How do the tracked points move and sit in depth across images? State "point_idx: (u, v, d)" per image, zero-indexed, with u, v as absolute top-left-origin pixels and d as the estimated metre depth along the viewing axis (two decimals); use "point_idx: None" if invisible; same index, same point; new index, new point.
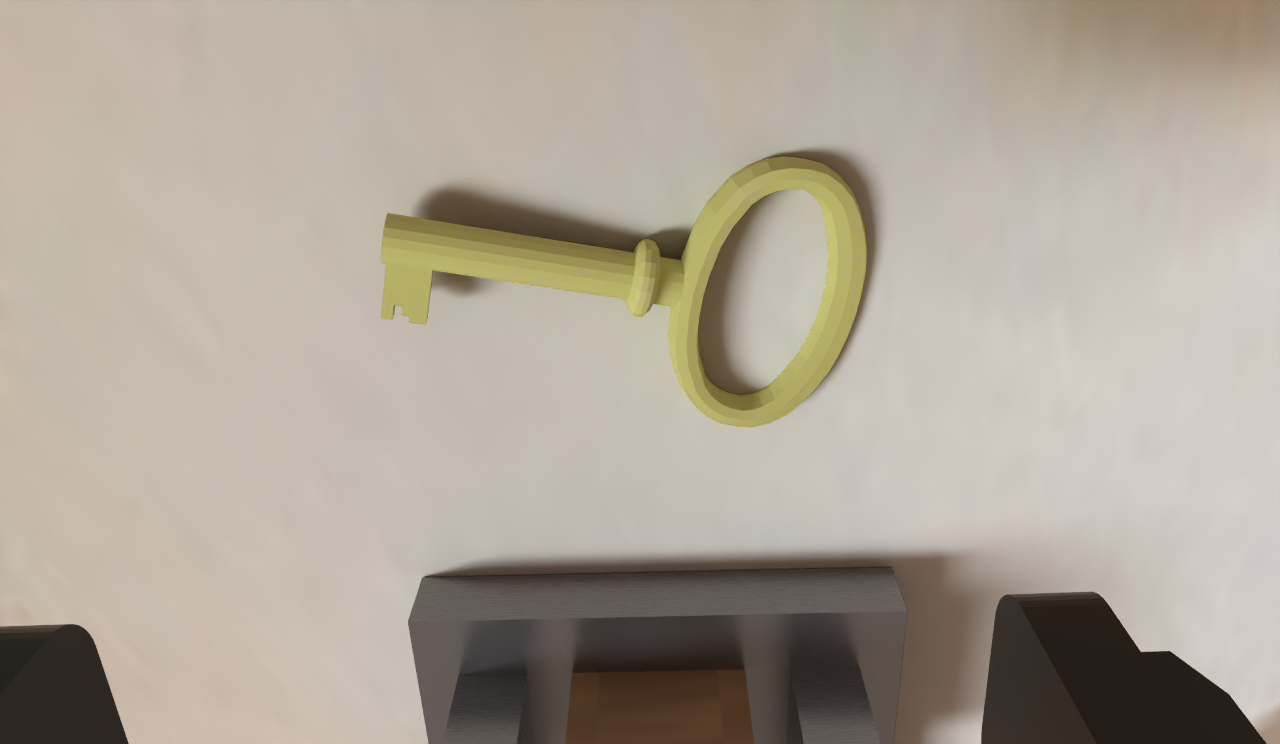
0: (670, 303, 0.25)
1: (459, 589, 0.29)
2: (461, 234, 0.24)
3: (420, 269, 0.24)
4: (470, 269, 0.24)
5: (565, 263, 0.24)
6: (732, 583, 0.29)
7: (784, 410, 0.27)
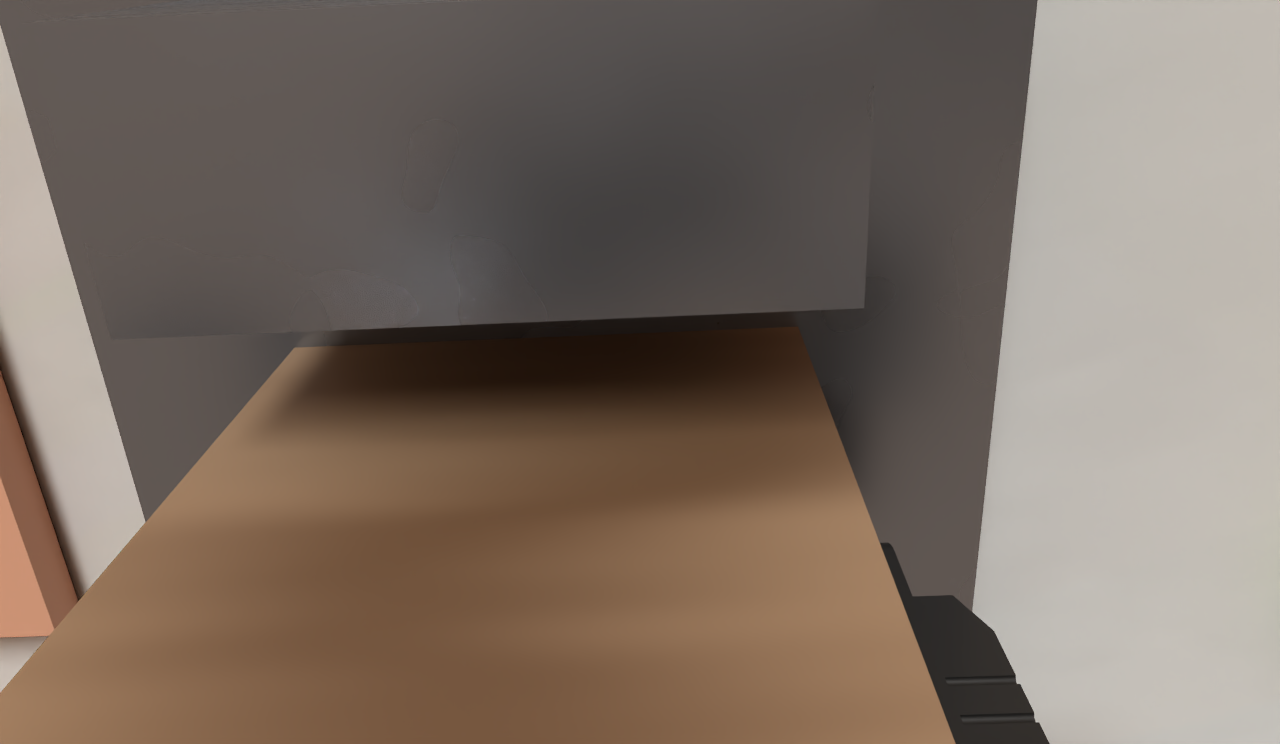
0: None
1: None
2: None
3: None
4: None
5: None
6: None
7: None
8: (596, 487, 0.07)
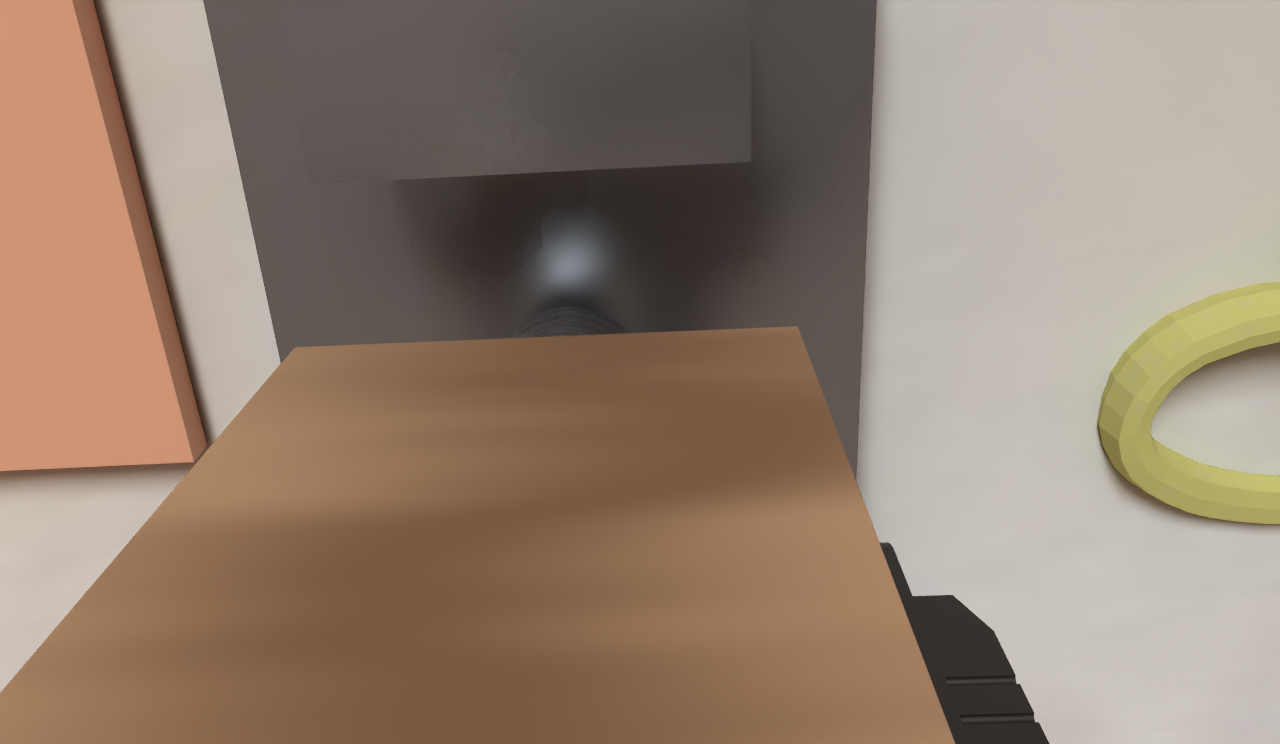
0: None
1: None
2: None
3: None
4: None
5: None
6: None
7: (1139, 474, 0.18)
8: (596, 486, 0.07)
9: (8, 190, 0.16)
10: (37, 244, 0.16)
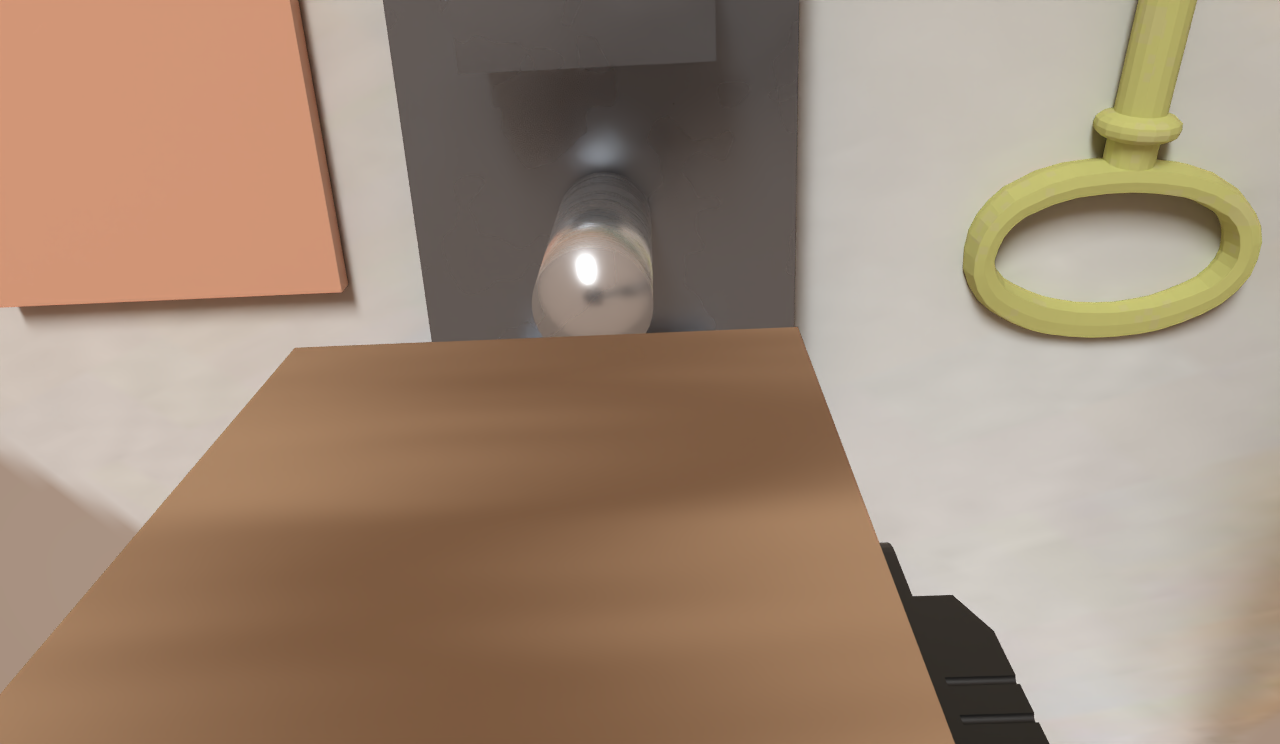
0: (1120, 161, 0.24)
1: None
2: None
3: None
4: None
5: (1179, 42, 0.23)
6: None
7: (991, 301, 0.26)
8: (596, 487, 0.07)
9: (231, 97, 0.24)
10: (247, 135, 0.24)
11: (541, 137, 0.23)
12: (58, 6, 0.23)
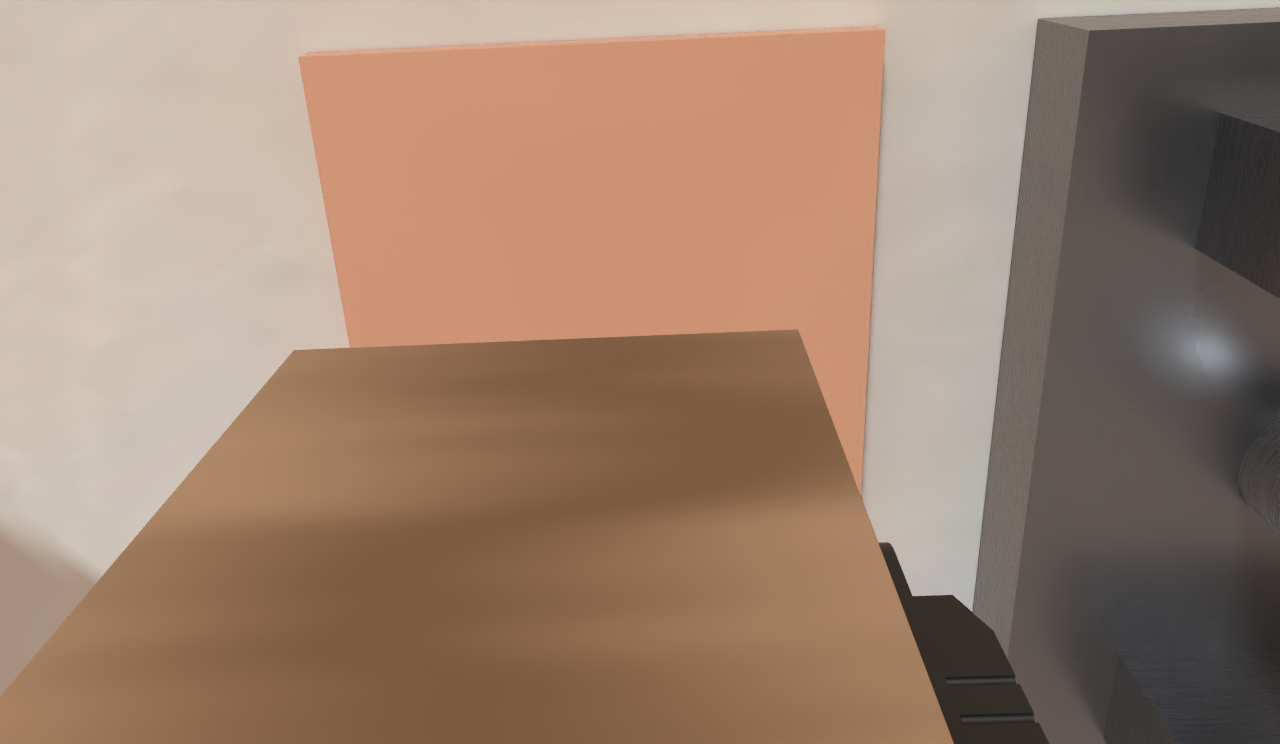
0: None
1: None
2: None
3: None
4: None
5: None
6: None
7: None
8: (596, 491, 0.07)
9: (764, 285, 0.17)
10: None
11: (1249, 358, 0.16)
12: (542, 162, 0.16)
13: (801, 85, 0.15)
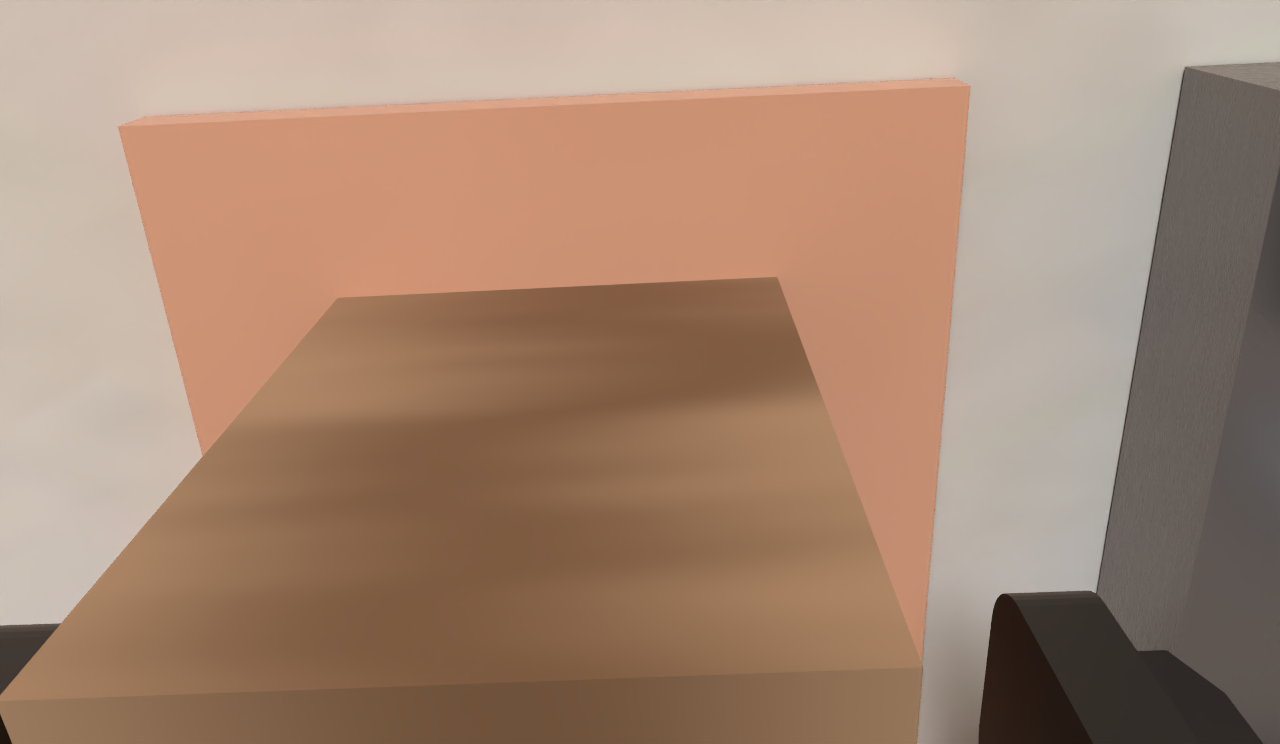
0: None
1: None
2: None
3: None
4: None
5: None
6: None
7: None
8: (603, 395, 0.09)
9: None
10: None
11: None
12: (477, 270, 0.11)
13: (847, 164, 0.11)
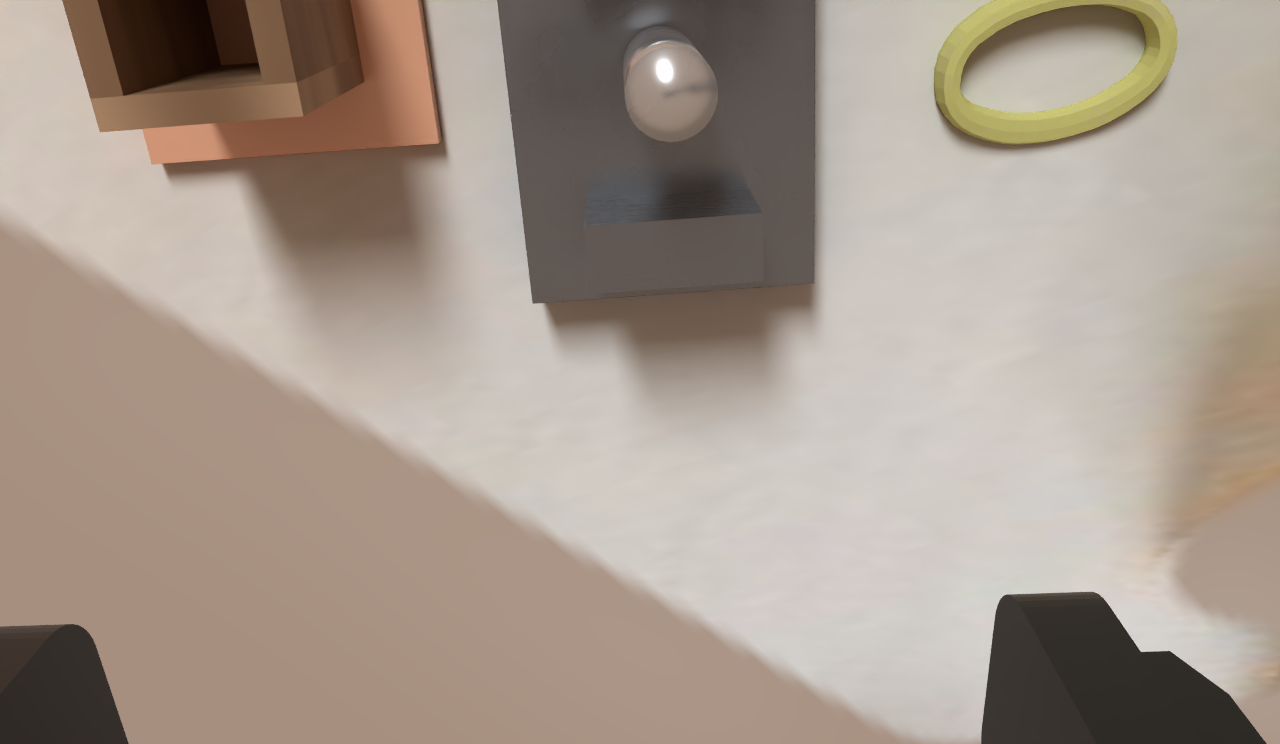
0: None
1: None
2: None
3: None
4: None
5: None
6: None
7: (964, 122, 0.31)
8: None
9: None
10: (364, 7, 0.29)
11: None
12: None
13: None
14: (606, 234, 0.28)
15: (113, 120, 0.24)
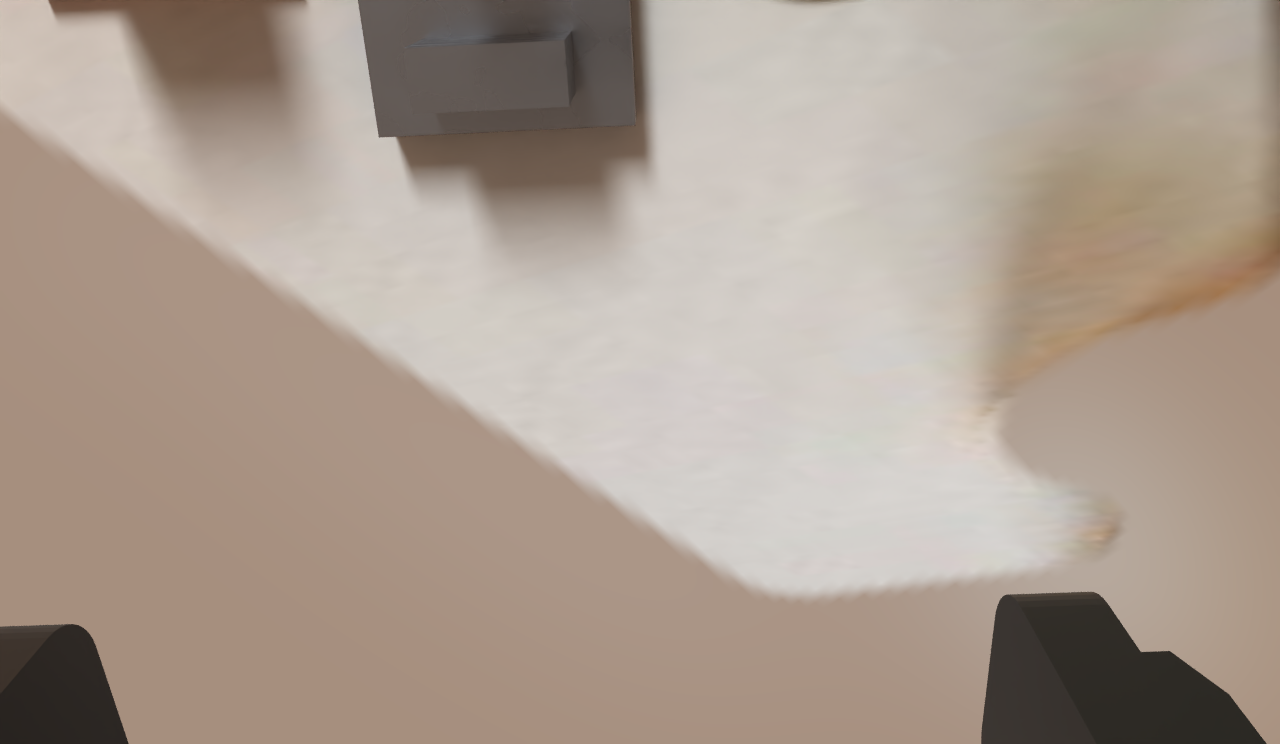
0: None
1: None
2: None
3: None
4: None
5: None
6: None
7: None
8: None
9: None
10: None
11: None
12: None
13: None
14: (424, 57, 0.31)
15: None
